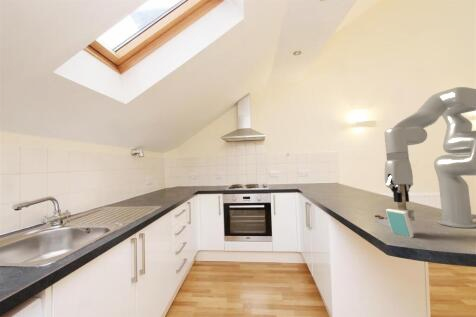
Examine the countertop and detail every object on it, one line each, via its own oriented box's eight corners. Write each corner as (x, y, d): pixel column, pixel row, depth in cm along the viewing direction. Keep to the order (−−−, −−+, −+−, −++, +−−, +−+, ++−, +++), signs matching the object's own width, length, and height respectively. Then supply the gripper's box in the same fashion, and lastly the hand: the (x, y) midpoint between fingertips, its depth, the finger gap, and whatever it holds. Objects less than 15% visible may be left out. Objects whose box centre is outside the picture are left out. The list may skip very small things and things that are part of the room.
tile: (394, 231, 94) (388, 208, 94) (413, 236, 86) (406, 211, 86) (391, 232, 94) (385, 210, 94) (410, 237, 86) (403, 213, 86)
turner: (397, 217, 94) (394, 179, 95) (414, 220, 88) (410, 180, 89) (392, 217, 94) (389, 180, 95) (408, 221, 87) (405, 180, 88)
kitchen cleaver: (363, 215, 124) (381, 214, 123) (363, 217, 124) (382, 216, 123) (387, 227, 100) (411, 225, 99) (387, 230, 100) (411, 228, 99)
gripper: (403, 157, 98) (407, 199, 97) (374, 158, 94) (377, 202, 93) (421, 156, 91) (426, 201, 90) (390, 157, 86) (394, 204, 85)
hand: (401, 201), depth 91 cm, fingers closed on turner, 2 cm apart
